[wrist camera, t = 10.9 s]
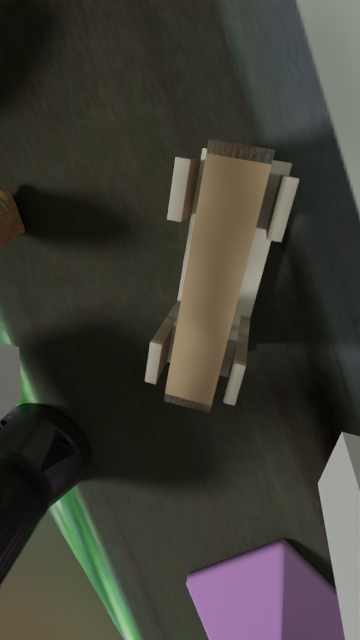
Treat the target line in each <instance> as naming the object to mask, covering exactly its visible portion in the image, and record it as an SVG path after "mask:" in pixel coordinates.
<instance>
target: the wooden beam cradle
mask: <svg viewBox="0 0 360 640" xmlns="http://www.w3.org/2000/svg"><path fill="white" fill-rule="evenodd" d="M206 152H207V149H205V148H203V149H202V155H201V160H195V159H187V158H179V157H176V158H175V165H174V172H173V180H172V187H171V194H170V202H169V209H168V216H167V219H168V220H173V221H178V222H182V221H183V220H185V219H186V218H188V217H189V216H191V215H192V216H191V222H190V228H189V234H188V240H187V246H186V252H185V258H184V264H183V270H182V276H181V282H180V288H179V294H178V300H177V302H176V303H175V305H174V306H173V308H172V310H171V311H170V313H169V314H168V316H167V317H166V319H165V320H164V322H163V323H162V325H161V326H160V328H159V329H158V331H157V333H156V334H155V336H154V337H153V339H152V340H151V342H150V347H149V355H148V362H147V369H146V376H145V382H148V383H152V384H156V383H157V381H158V379H159V377H160V375H161V373H162V371H163V369H164V367H165V365H166V363H167V362H170V361H171V356H172V350H173V344H174V338H175V332H176V327H177V321H178V315H179V309H180V303H181V297H182V292H183V286H184V280H185V274H186V268H187V263H188V257H189V251H190V245H191V239H192V234H193V228H194V222H195V216H196V210H197V204H198V199H199V193H200V187H201V181H202V175H203V170H204V164H205V158H206ZM291 167H292V163H287V162H281V161H275V160H273V161H272V165H271V169H270V173H269V177H268V181H267V185H266V189H265V193H264V197H263V201H262V205H261V209H260V213H259V217H258V221H257V225H256V229H255V233H254V237H253V241H252V245H251V249H250V253H249V257H248V261H247V265H246V269H245V273H244V277H243V281H242V285H241V289H240V293H239V297H238V301H237V305H236V309H235V313H234V317H233V321H232V325H231V329H230V333H229V338H228V342H227V346H226V350H225V354H224V358H223V362H222V366H221V370H220V374H219V375H221V376H225V377H227V383H226V389H225V395H224V400H223V403H226V404H230V405H234V406H235V403H236V399H237V396H238V392H239V389H240V385H241V382H242V378H243V375H244V371H245V368H246V360H247V349H248V338H249V327H250V317H251V313H252V310H253V306H254V302H255V299H256V295H257V291H258V288H259V284H260V280H261V277H262V273H263V269H264V266H265V262H266V258H267V255H268V251H269V247H270V244H271V240H272V241H277V242H282V238H283V235H284V231H285V228H286V224H287V221H288V217H289V214H290V210H291V207H292V203H293V200H294V196H295V193H296V189H297V186H298V182H299V179H298V178H295V177H291V176H289V174H290V170H291Z"/></svg>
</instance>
